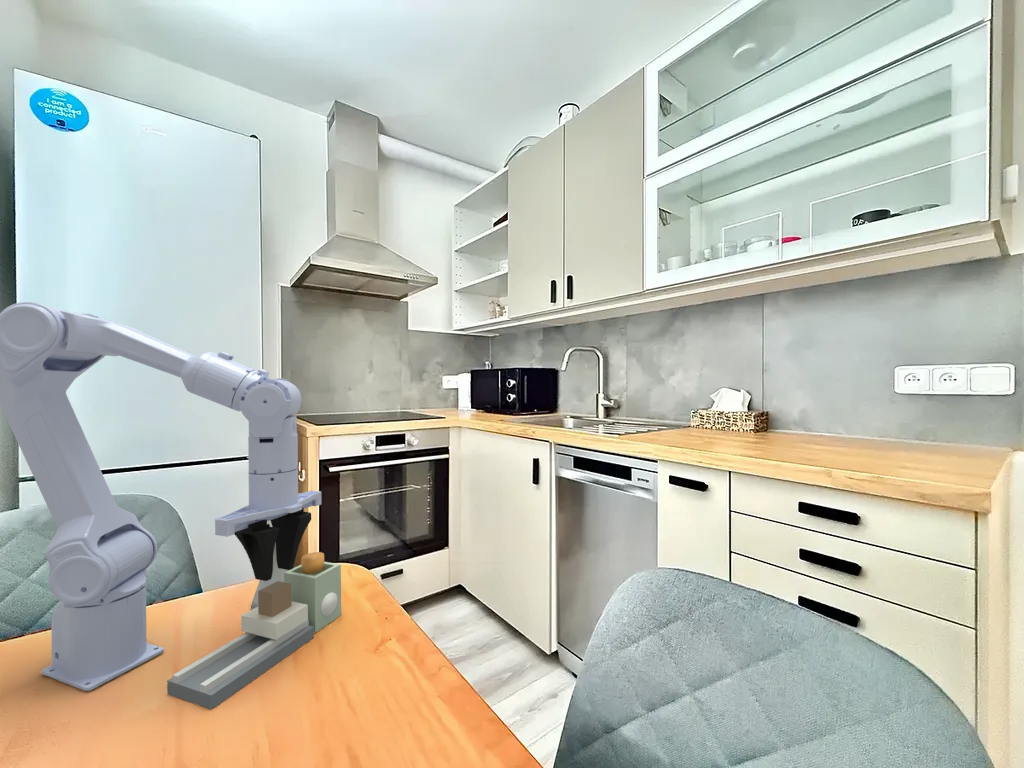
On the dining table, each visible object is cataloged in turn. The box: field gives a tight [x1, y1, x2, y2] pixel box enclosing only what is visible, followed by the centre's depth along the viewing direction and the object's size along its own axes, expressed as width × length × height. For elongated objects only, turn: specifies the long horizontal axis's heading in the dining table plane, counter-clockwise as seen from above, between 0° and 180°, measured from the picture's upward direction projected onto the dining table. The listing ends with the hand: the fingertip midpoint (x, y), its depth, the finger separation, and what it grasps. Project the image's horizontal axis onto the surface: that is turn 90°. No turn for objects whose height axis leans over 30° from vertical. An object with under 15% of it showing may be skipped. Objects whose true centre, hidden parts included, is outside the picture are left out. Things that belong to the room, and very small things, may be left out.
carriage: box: [240, 581, 308, 640], centre depth 58 cm, size 6×5×5 cm
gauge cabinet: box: [284, 561, 342, 634], centre depth 64 cm, size 6×5×8 cm
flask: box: [250, 542, 289, 610], centre depth 70 cm, size 7×7×10 cm
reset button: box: [301, 551, 325, 574], centre depth 64 cm, size 3×3×2 cm
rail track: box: [166, 620, 315, 710], centre depth 54 cm, size 7×14×2 cm, turn 160°
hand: (274, 573), depth 58 cm, fingers open, 3 cm apart
